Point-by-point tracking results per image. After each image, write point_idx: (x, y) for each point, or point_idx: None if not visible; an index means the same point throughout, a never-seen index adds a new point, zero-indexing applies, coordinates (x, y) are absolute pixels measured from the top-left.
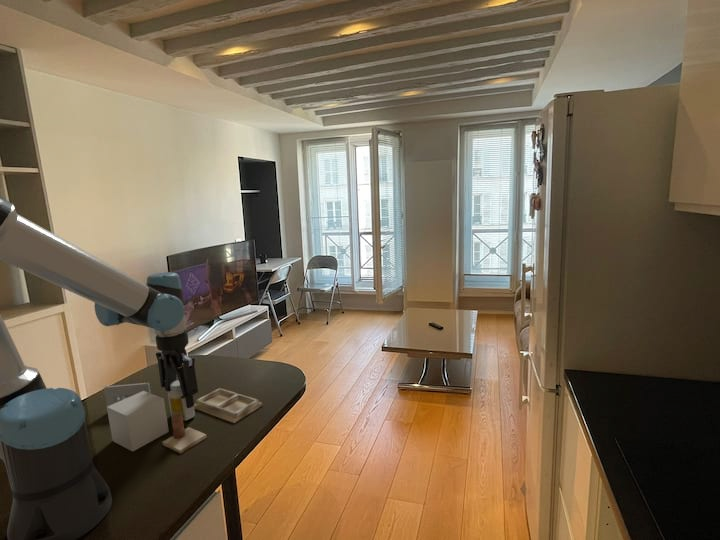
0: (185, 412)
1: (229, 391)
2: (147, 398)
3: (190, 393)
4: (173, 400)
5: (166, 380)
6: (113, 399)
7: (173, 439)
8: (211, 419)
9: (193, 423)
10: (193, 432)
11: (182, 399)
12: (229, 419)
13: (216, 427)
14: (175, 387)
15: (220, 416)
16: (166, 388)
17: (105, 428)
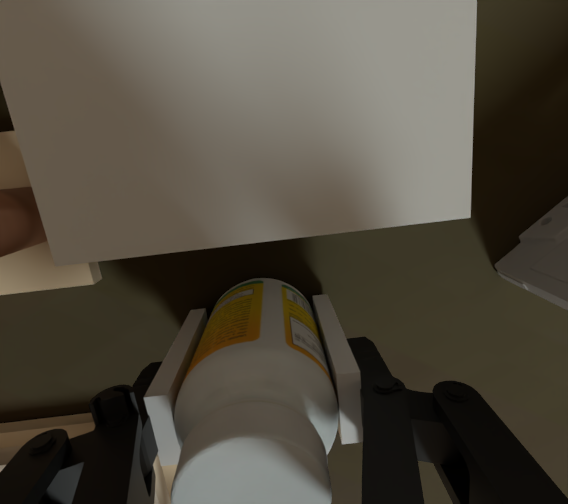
0: (179, 334)
1: None
2: (216, 153)
3: (17, 462)
4: (220, 341)
5: (394, 464)
6: None
7: (28, 177)
8: (112, 385)
9: (148, 320)
10: (17, 273)
11: (160, 383)
12: (12, 429)
13: (18, 363)
14: (194, 443)
15: (80, 419)
16: (378, 391)
17: (538, 2)
